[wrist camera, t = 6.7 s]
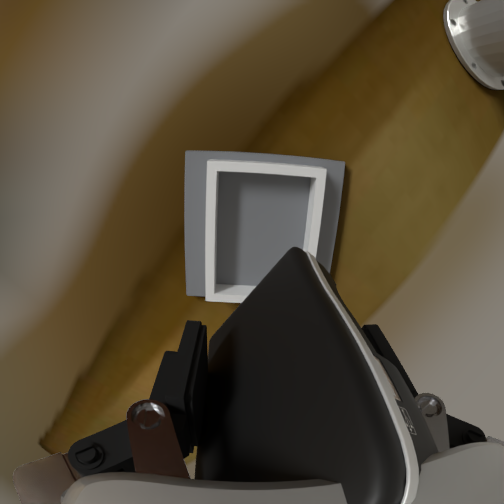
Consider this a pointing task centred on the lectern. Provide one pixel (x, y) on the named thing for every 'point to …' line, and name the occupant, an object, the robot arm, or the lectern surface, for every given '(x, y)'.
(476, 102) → the lectern surface
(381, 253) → the lectern surface
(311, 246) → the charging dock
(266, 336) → the battery charger
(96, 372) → the lectern surface
